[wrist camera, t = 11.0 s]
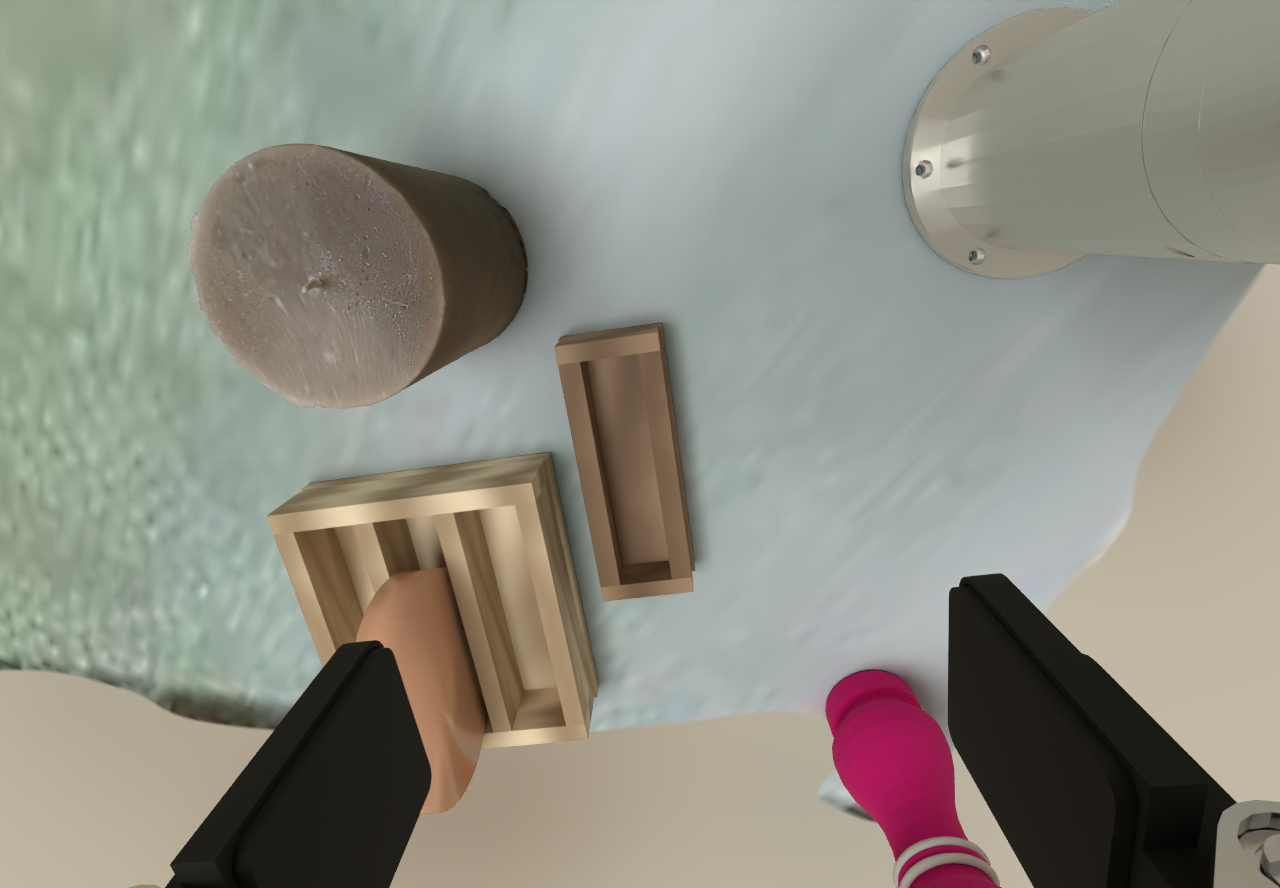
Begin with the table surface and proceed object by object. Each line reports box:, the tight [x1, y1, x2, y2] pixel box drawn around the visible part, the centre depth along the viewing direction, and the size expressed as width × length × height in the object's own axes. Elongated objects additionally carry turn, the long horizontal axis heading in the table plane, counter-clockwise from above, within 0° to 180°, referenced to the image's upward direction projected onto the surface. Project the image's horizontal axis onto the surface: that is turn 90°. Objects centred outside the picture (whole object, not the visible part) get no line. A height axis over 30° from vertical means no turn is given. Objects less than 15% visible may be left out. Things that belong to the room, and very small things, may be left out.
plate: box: [355, 567, 487, 814], centre depth 36 cm, size 2×13×13 cm, turn 8°
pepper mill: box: [826, 670, 1001, 888], centre depth 35 cm, size 7×7×20 cm
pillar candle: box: [188, 144, 528, 409], centre depth 29 cm, size 10×10×15 cm
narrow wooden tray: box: [555, 323, 695, 601], centre depth 38 cm, size 6×16×3 cm, turn 8°
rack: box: [267, 452, 599, 749], centre depth 41 cm, size 16×18×5 cm
